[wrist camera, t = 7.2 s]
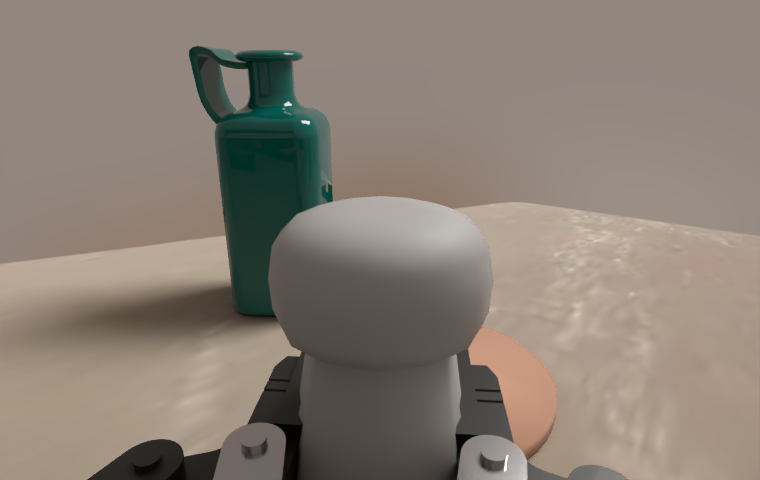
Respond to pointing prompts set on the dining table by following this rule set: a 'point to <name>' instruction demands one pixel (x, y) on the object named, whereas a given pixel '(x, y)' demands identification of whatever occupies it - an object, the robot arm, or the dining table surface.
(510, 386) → the terracotta pad
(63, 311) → the dining table surface
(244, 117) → the pitcher
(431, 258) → the salt shaker
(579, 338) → the dining table surface
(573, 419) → the dining table surface
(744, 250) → the dining table surface
